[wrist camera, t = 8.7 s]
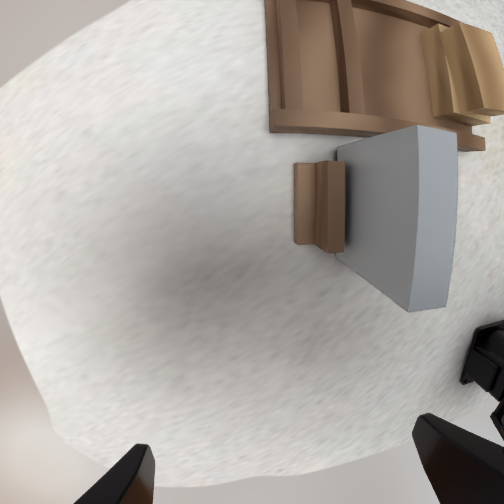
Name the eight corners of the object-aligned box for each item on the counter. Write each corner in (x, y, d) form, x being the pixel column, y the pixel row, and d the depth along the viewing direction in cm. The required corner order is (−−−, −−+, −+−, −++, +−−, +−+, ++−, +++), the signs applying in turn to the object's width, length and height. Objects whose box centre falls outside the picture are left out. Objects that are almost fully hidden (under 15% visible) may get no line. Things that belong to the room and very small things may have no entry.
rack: (448, 32, 17) (465, 23, 15) (465, 151, 19) (485, 150, 17) (264, -6, 16) (268, -25, 14) (269, 132, 18) (275, 125, 16)
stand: (391, 168, 19) (418, 167, 16) (389, 238, 21) (415, 249, 17) (294, 163, 19) (307, 160, 16) (294, 241, 20) (307, 253, 17)
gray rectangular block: (365, 149, 18) (456, 133, 9) (364, 256, 20) (445, 306, 11) (337, 146, 18) (417, 125, 9) (336, 257, 20) (407, 312, 11)
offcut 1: (457, 48, 17) (475, 39, 14) (469, 126, 18) (490, 123, 16) (420, 34, 16) (438, 23, 14) (432, 117, 18) (453, 112, 15)
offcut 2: (471, 42, 14) (491, 33, 12) (491, 116, 16) (514, 112, 13) (438, 33, 14) (458, 21, 12) (460, 112, 15) (484, 107, 13)
